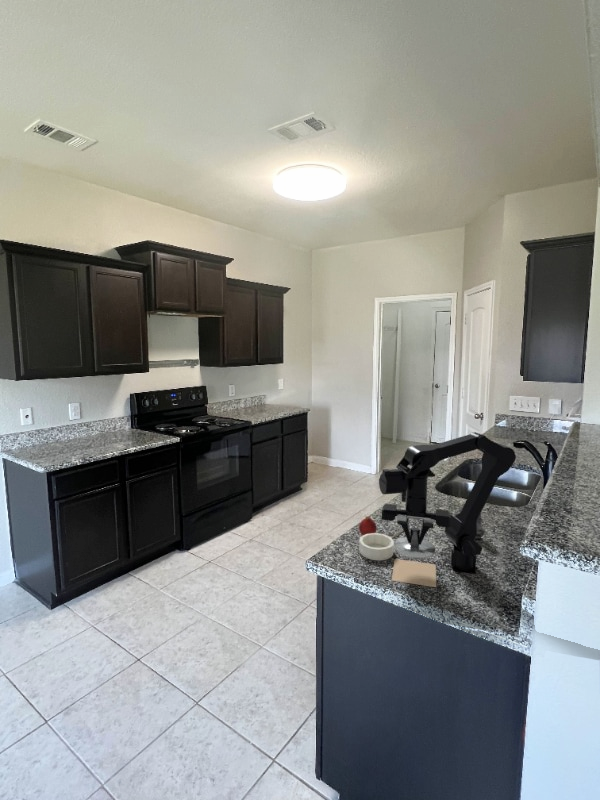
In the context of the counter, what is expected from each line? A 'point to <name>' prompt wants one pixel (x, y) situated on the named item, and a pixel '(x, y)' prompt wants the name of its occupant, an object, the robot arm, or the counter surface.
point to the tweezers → (397, 534)
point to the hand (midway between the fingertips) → (414, 543)
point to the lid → (414, 546)
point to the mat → (414, 572)
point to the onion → (367, 526)
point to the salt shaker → (479, 531)
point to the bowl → (376, 546)
